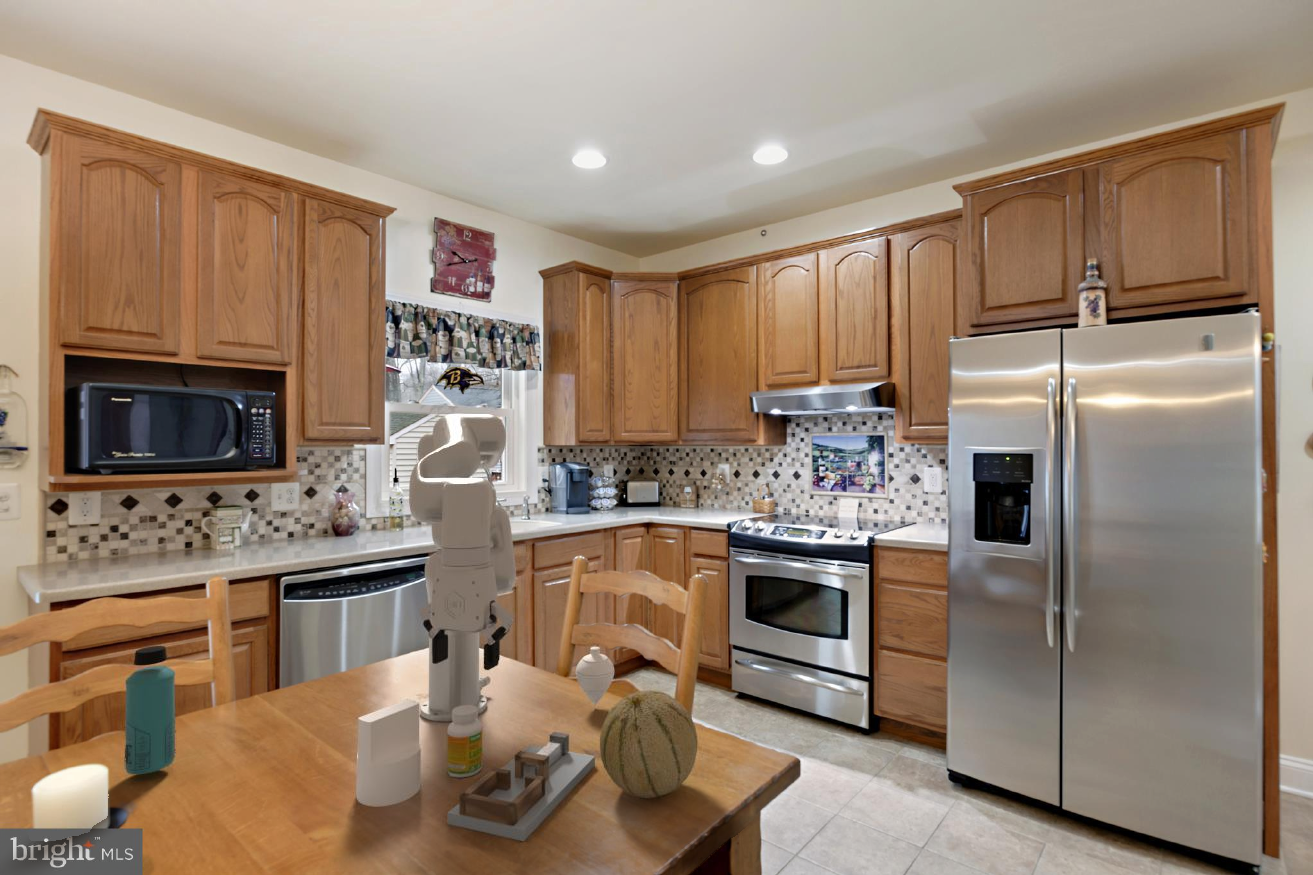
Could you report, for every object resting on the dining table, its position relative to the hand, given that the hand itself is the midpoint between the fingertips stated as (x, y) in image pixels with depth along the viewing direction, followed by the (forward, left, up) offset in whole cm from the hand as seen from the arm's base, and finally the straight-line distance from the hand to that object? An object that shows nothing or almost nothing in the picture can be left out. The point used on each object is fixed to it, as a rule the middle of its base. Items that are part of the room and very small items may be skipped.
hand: (465, 664), depth 105 cm
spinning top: (-30, +9, -17) cm, 36 cm away
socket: (+9, +13, -15) cm, 22 cm away
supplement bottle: (0, 0, -17) cm, 17 cm away
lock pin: (-3, +13, -15) cm, 20 cm away
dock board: (+2, +13, -17) cm, 21 cm away
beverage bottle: (+18, -46, -17) cm, 52 cm away
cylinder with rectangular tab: (+9, -7, -17) cm, 21 cm away
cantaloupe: (-4, +30, -17) cm, 35 cm away
